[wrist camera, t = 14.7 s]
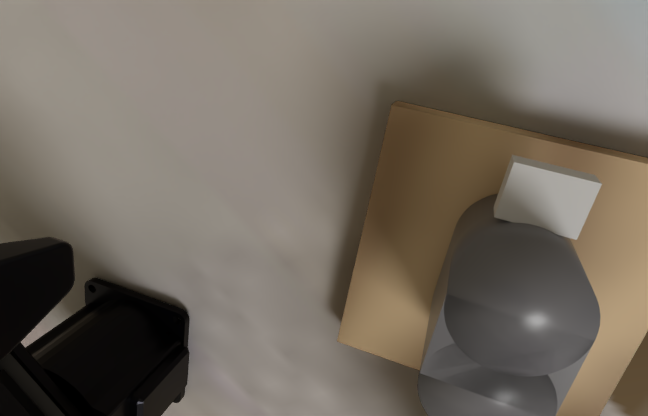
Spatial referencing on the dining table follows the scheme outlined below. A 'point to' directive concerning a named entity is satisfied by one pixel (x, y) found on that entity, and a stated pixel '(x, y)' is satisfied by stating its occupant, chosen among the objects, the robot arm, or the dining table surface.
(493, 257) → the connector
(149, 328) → the robot arm
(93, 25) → the dining table surface
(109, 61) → the dining table surface
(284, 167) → the dining table surface
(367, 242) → the oak board
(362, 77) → the dining table surface
